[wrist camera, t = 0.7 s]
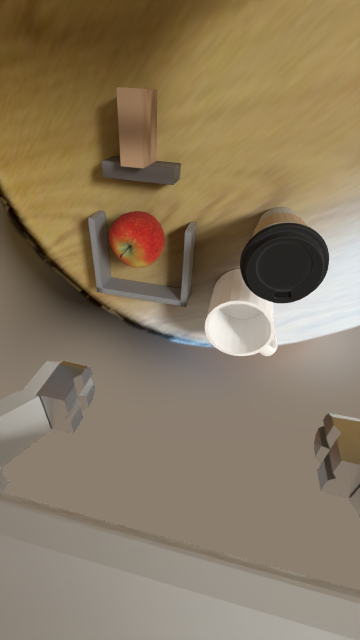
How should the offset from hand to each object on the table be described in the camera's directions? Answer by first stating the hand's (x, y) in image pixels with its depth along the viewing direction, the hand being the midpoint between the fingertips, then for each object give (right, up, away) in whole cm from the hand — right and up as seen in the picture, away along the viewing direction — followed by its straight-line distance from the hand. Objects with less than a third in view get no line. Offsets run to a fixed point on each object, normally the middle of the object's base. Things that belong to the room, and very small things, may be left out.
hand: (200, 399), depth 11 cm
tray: (-6, +14, +41) cm, 44 cm away
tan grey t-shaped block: (-5, +29, +30) cm, 42 cm away
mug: (+11, +7, +42) cm, 44 cm away
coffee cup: (+14, +17, +34) cm, 40 cm away
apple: (-6, +18, +39) cm, 43 cm away
